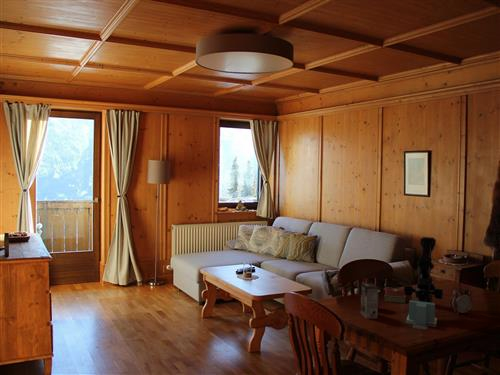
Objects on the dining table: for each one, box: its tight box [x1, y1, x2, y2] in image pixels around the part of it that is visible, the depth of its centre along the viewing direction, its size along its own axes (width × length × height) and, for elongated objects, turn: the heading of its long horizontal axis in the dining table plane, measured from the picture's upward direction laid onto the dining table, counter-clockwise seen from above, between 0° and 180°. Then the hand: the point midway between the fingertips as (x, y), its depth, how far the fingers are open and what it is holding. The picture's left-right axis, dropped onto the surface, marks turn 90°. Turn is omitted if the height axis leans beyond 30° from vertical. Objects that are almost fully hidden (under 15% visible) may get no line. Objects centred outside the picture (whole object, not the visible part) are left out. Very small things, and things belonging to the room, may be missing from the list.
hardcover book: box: [383, 286, 407, 304], centre depth 278 cm, size 12×21×4 cm, turn 162°
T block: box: [408, 299, 436, 325], centre depth 232 cm, size 9×12×9 cm
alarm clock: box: [450, 284, 473, 315], centre depth 249 cm, size 11×5×15 cm, turn 105°
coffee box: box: [360, 282, 379, 319], centre depth 242 cm, size 9×6×16 cm
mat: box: [405, 314, 438, 330], centre depth 232 cm, size 21×14×1 cm, turn 156°
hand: (422, 306), depth 236 cm, fingers closed, pressing on T block
